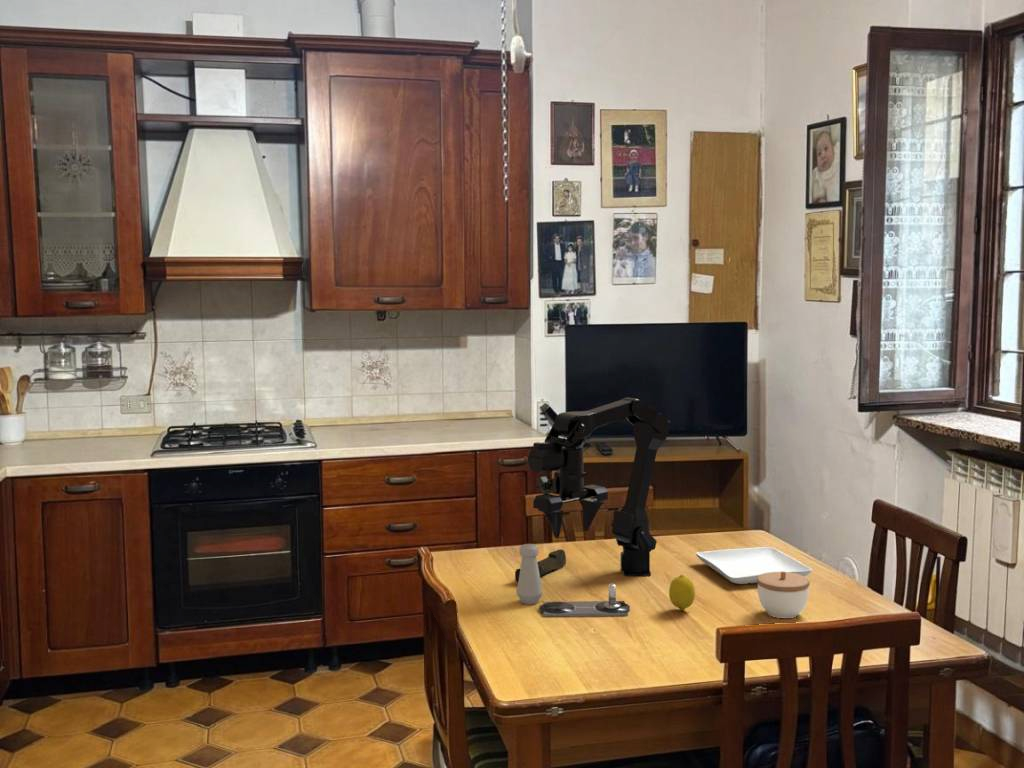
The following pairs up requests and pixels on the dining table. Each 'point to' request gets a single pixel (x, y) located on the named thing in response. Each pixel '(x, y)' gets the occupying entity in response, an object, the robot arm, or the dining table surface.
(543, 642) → the dining table surface
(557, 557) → the hand tool
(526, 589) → the salt shaker
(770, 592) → the lidded jar
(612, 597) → the fixed steel pin
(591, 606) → the plate
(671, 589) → the lemon
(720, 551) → the salad plate
